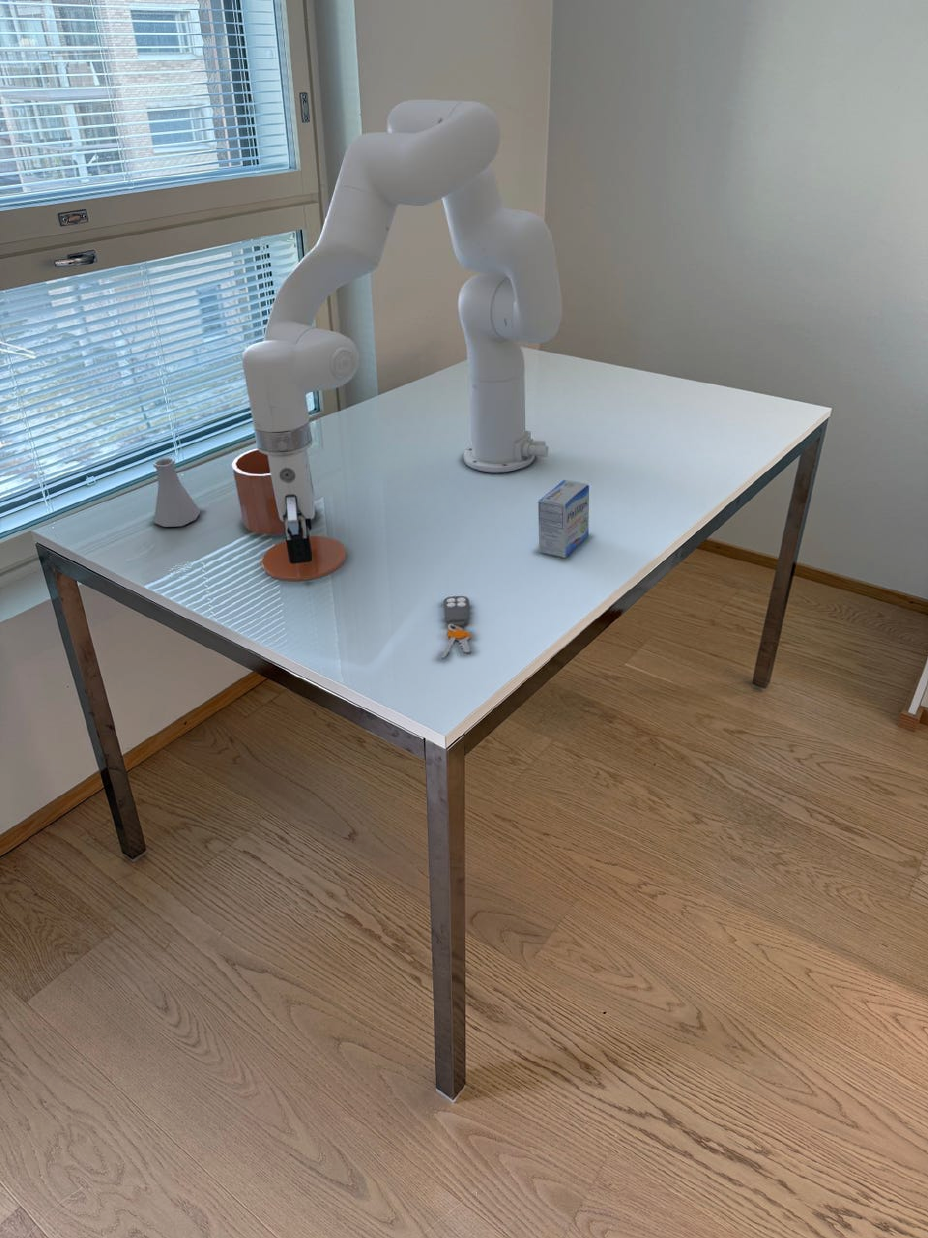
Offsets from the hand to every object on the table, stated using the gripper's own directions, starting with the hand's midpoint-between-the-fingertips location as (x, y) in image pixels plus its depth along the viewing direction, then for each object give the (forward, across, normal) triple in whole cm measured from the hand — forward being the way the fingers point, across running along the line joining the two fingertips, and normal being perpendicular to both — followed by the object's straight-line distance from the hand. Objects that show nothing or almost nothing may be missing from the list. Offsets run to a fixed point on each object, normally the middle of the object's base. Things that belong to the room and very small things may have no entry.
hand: (301, 545), depth 138 cm
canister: (+3, +15, +4) cm, 16 cm away
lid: (+2, 0, 0) cm, 2 cm away
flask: (+3, +20, +21) cm, 29 cm away
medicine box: (+3, -4, -38) cm, 39 cm away
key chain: (+3, -22, -20) cm, 30 cm away
